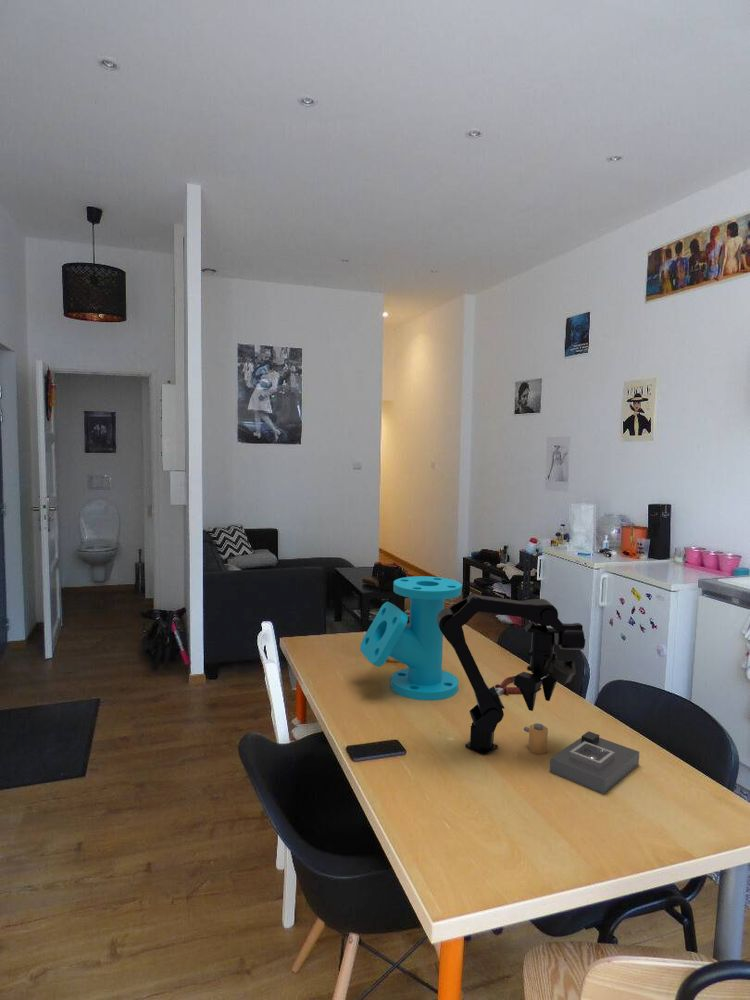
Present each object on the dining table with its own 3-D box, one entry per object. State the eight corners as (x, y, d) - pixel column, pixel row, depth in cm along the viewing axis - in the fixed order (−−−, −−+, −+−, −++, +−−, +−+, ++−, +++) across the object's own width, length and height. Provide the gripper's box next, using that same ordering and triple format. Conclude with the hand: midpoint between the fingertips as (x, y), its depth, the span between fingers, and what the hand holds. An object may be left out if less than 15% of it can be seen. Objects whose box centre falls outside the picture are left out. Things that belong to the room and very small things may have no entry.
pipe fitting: (469, 696, 202) (473, 589, 199) (374, 706, 193) (377, 594, 190) (442, 672, 224) (445, 575, 220) (355, 680, 214) (357, 578, 211)
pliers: (471, 693, 206) (472, 685, 206) (514, 681, 218) (514, 674, 218) (497, 706, 197) (497, 698, 197) (540, 692, 208) (540, 685, 208)
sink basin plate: (604, 794, 147) (605, 774, 146) (549, 771, 156) (550, 752, 156) (638, 764, 161) (639, 746, 160) (586, 745, 171) (587, 727, 170)
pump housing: (541, 756, 164) (542, 731, 164) (518, 747, 169) (519, 722, 168) (550, 750, 168) (551, 725, 167) (528, 741, 172) (529, 717, 172)
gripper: (554, 664, 154) (550, 726, 155) (587, 647, 167) (583, 704, 169) (514, 653, 161) (511, 712, 162) (548, 638, 175) (545, 692, 176)
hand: (539, 705), depth 167 cm, fingers open, 9 cm apart
